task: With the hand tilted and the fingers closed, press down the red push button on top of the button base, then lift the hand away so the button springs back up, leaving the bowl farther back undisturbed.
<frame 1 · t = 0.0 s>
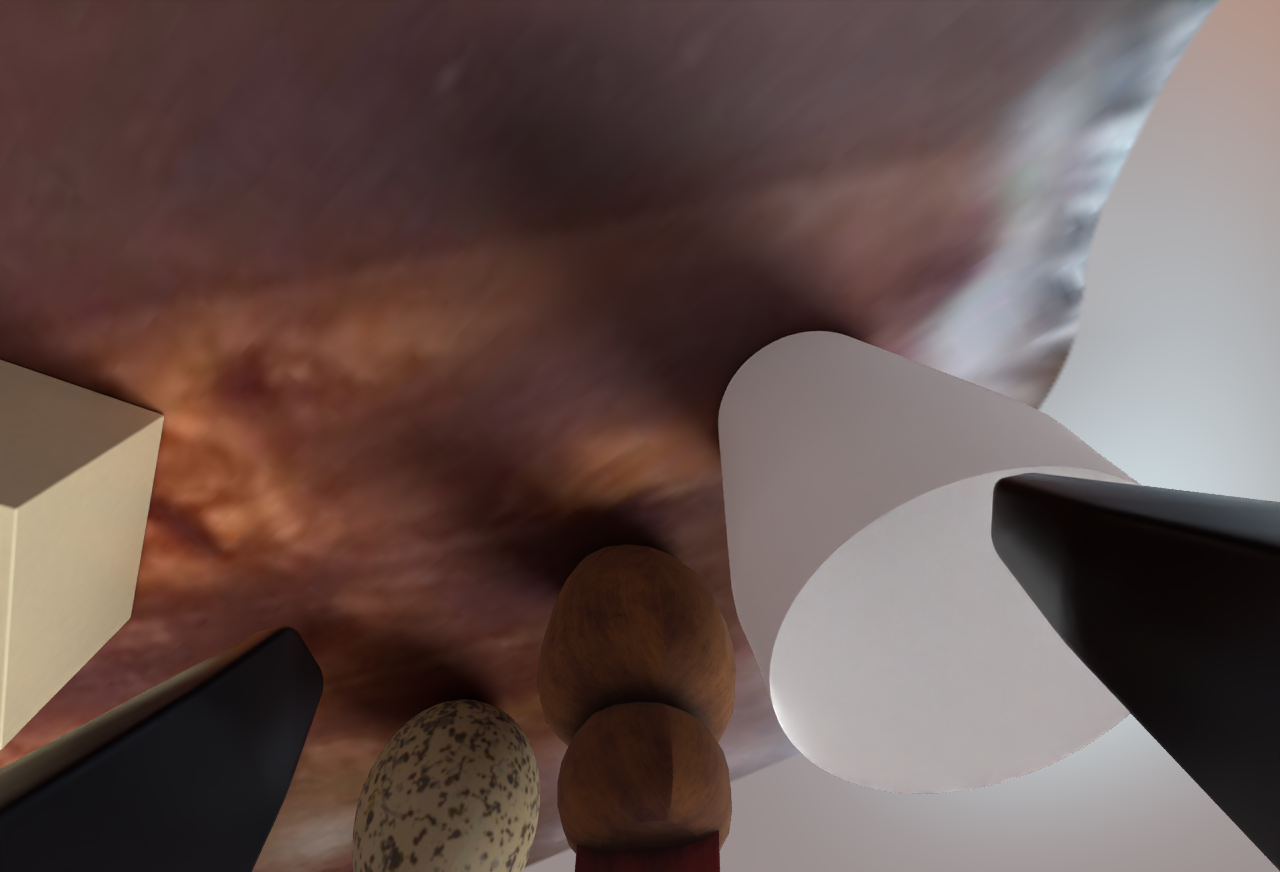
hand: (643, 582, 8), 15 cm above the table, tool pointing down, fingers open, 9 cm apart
decorative egg: (472, 713, 29), on the table
cup: (802, 413, 23), on the table
button base: (13, 483, 23), on the table
wooden figurine: (630, 577, 26), on the table
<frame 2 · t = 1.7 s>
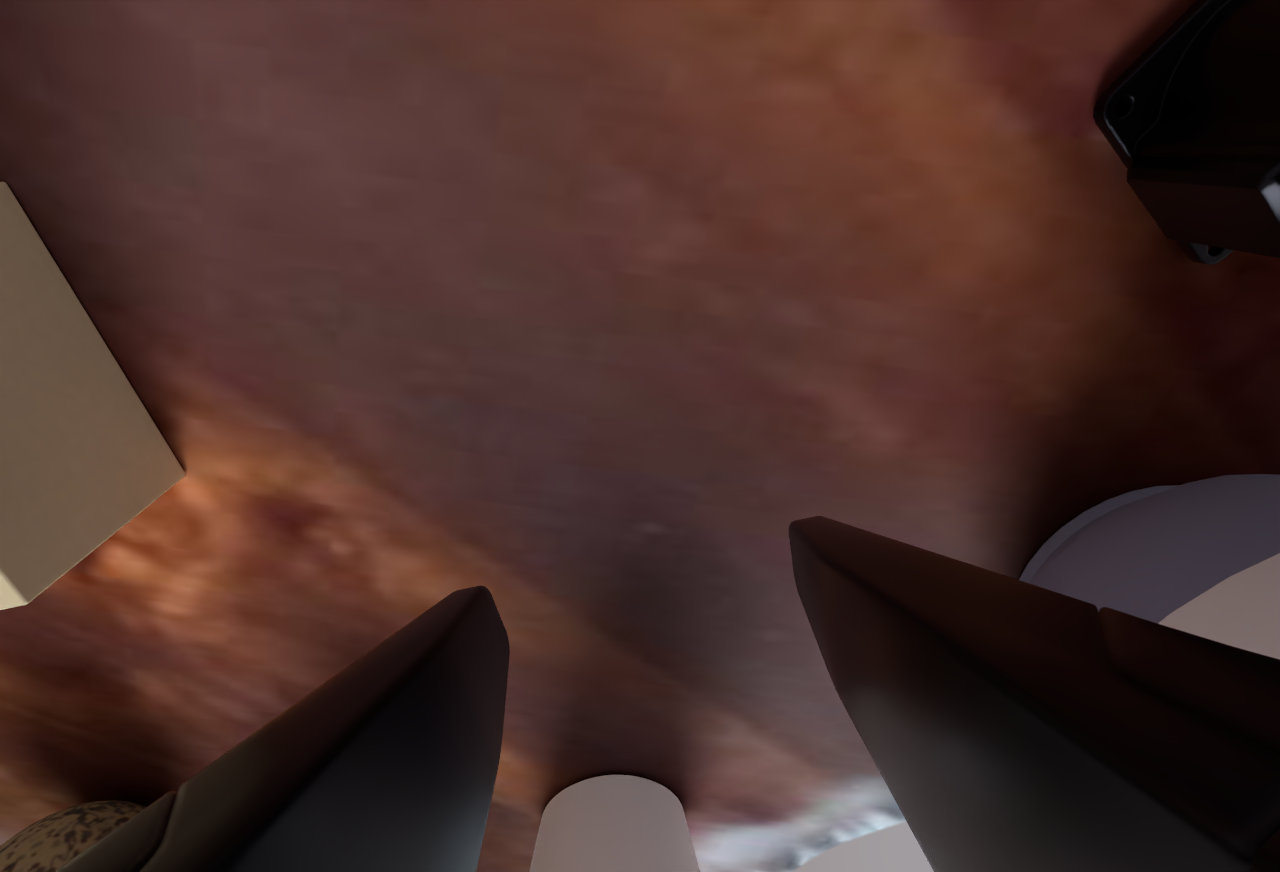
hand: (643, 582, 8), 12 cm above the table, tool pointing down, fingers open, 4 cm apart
decorative egg: (136, 810, 27), on the table
cup: (613, 814, 29), on the table
bowl: (1121, 580, 25), on the table
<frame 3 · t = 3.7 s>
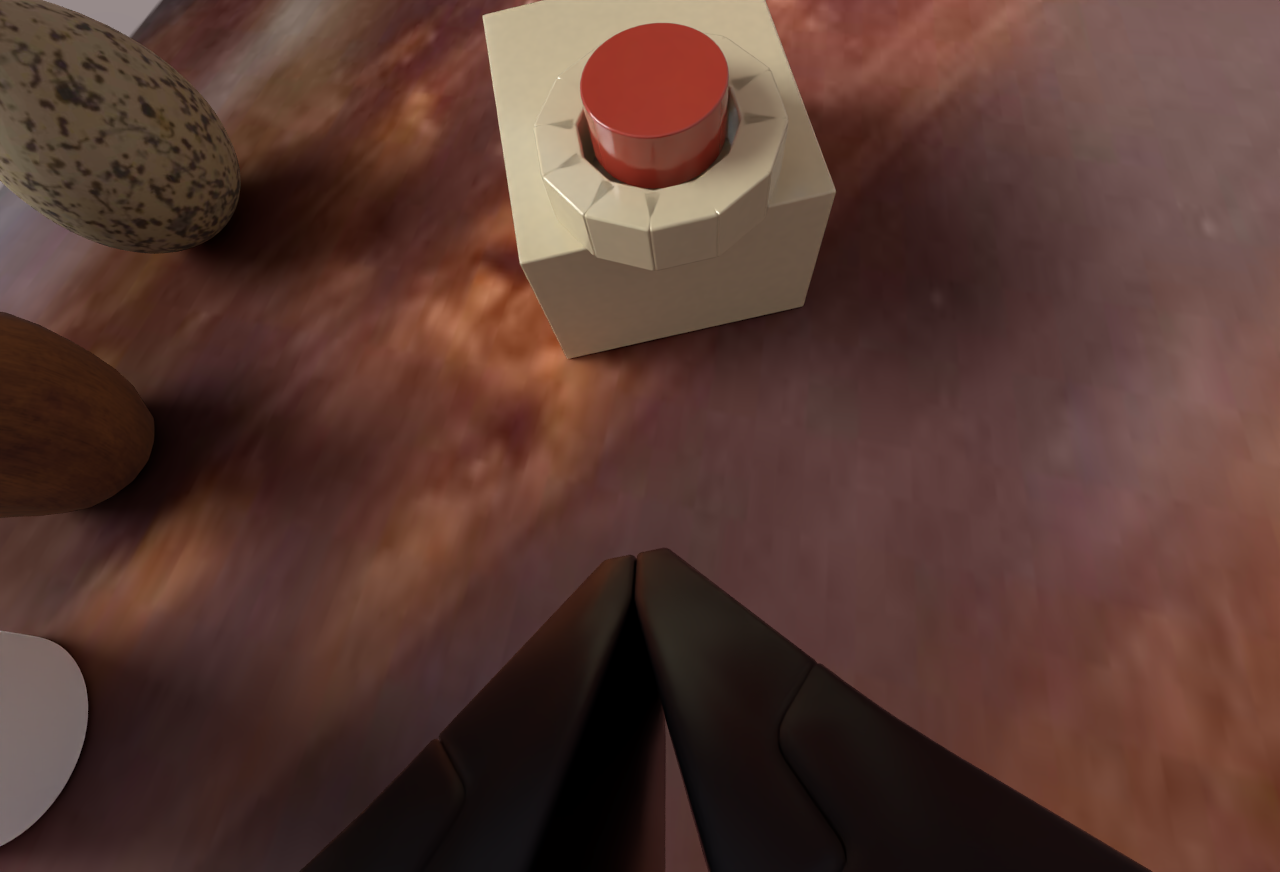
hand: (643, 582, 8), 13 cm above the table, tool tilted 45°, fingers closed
red push button: (656, 107, 16), point 8 cm above the table, slide at 0.1 cm
decorative egg: (208, 223, 27), on the table
cup: (6, 738, 21), on the table
button base: (657, 224, 25), on the table
wooden figurine: (110, 456, 24), on the table
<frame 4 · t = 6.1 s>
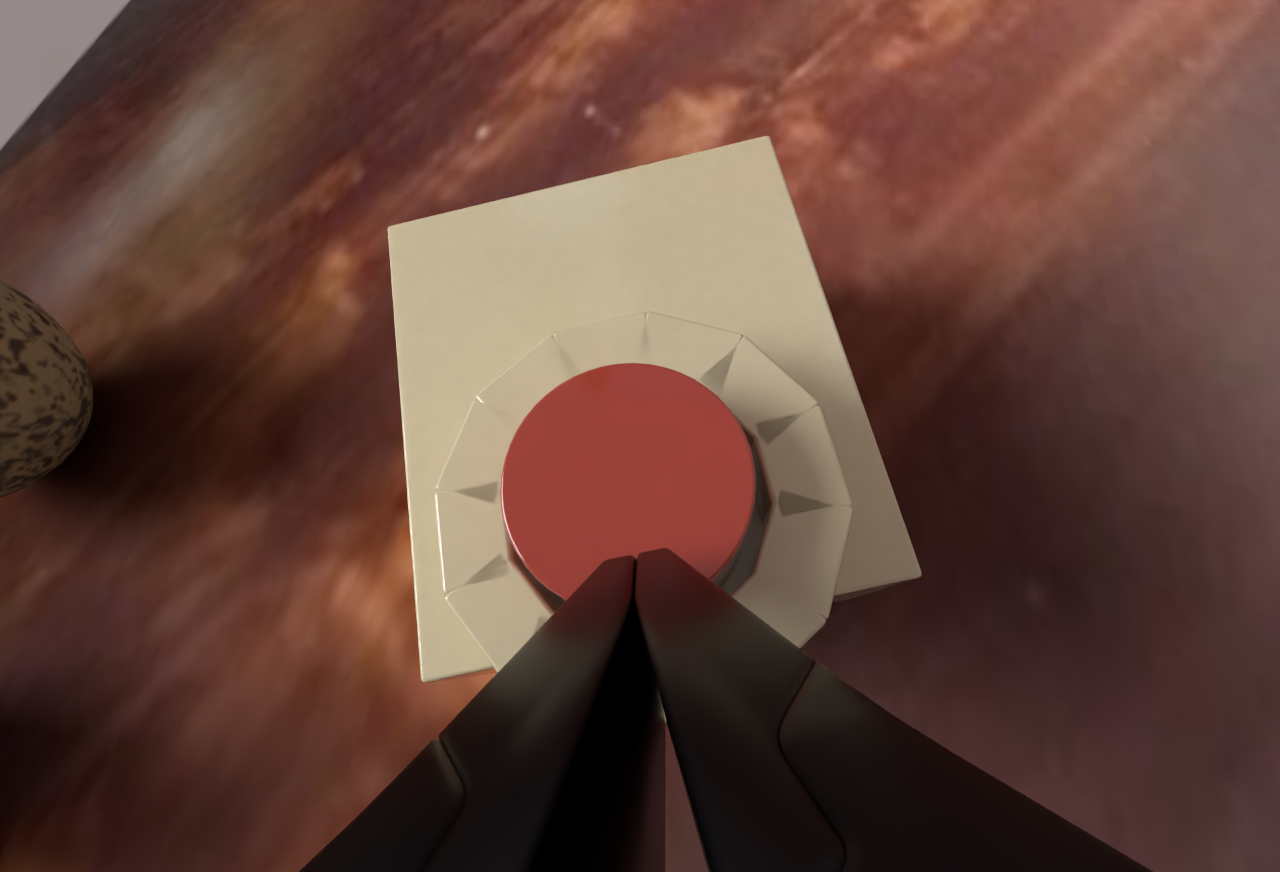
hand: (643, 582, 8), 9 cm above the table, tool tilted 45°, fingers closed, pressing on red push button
red push button: (632, 493, 9), point 8 cm above the table, slide at -0.1 cm, touching gripper
decorative egg: (61, 432, 21), on the table
button base: (645, 461, 18), on the table
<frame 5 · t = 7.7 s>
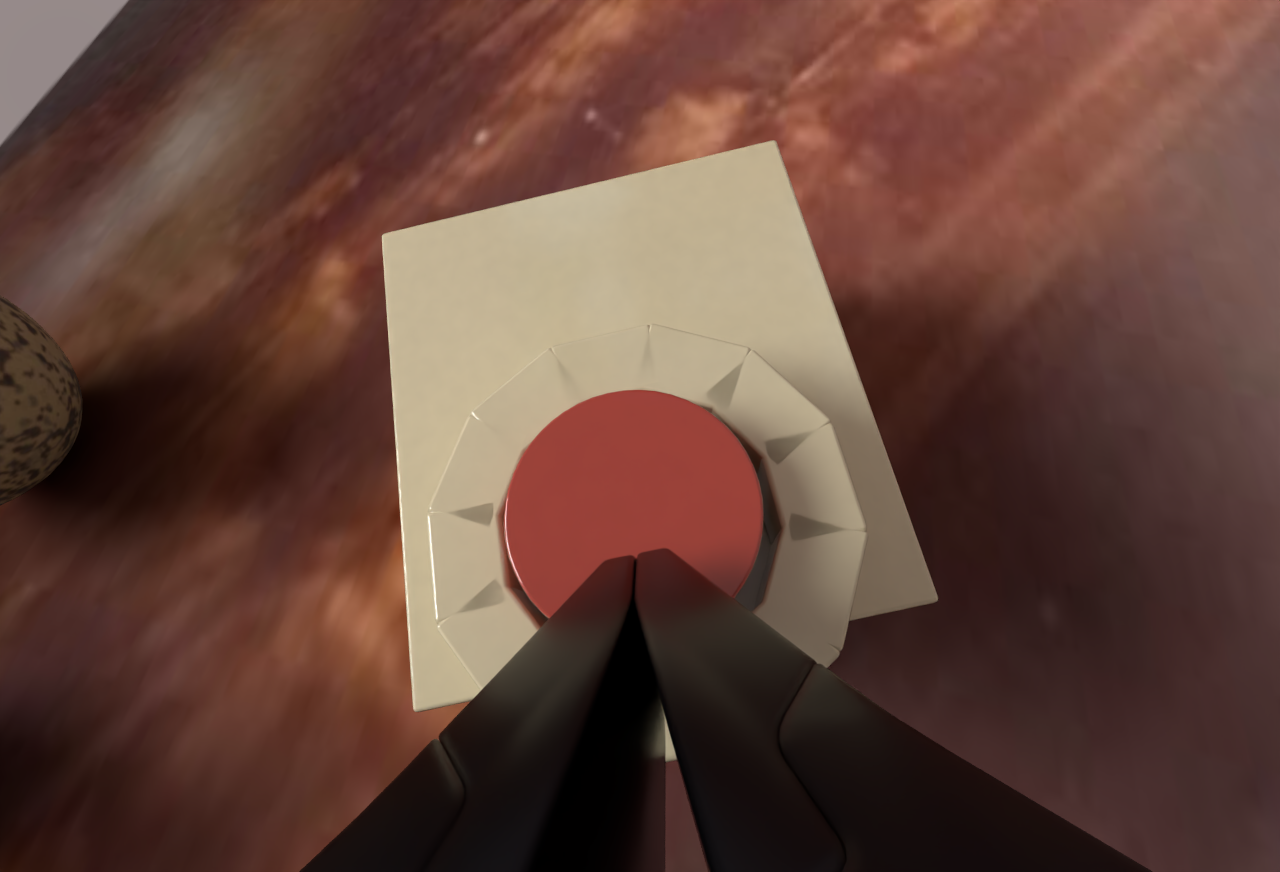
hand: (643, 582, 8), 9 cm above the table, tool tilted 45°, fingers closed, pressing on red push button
red push button: (637, 521, 9), point 8 cm above the table, slide at -0.4 cm, touching gripper
decorative egg: (50, 443, 20), on the table
button base: (647, 473, 18), on the table
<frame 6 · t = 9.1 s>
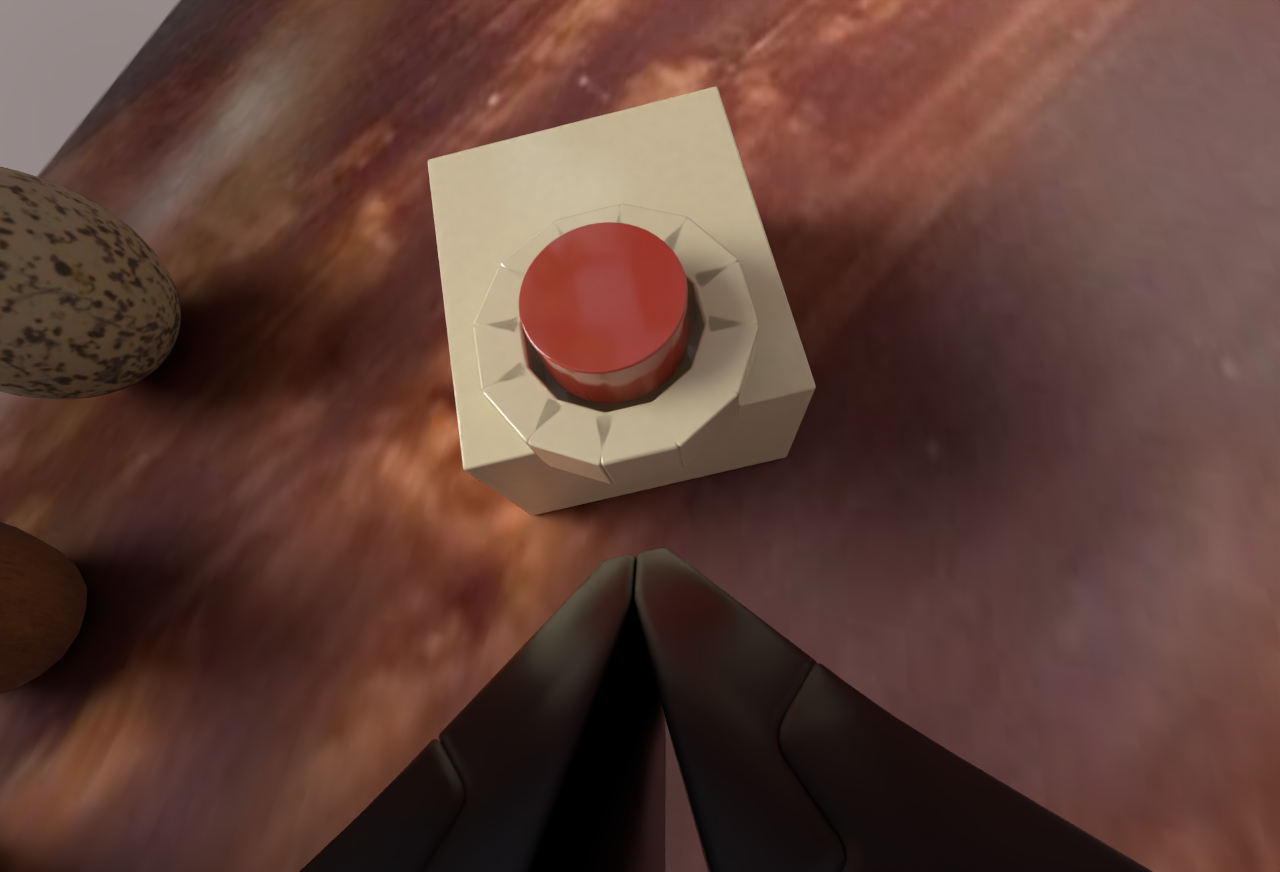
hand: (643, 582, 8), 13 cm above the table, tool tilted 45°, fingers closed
red push button: (608, 314, 14), point 8 cm above the table, slide at 0.1 cm
decorative egg: (150, 349, 25), on the table
button base: (629, 358, 23), on the table
wooden figurine: (41, 620, 22), on the table
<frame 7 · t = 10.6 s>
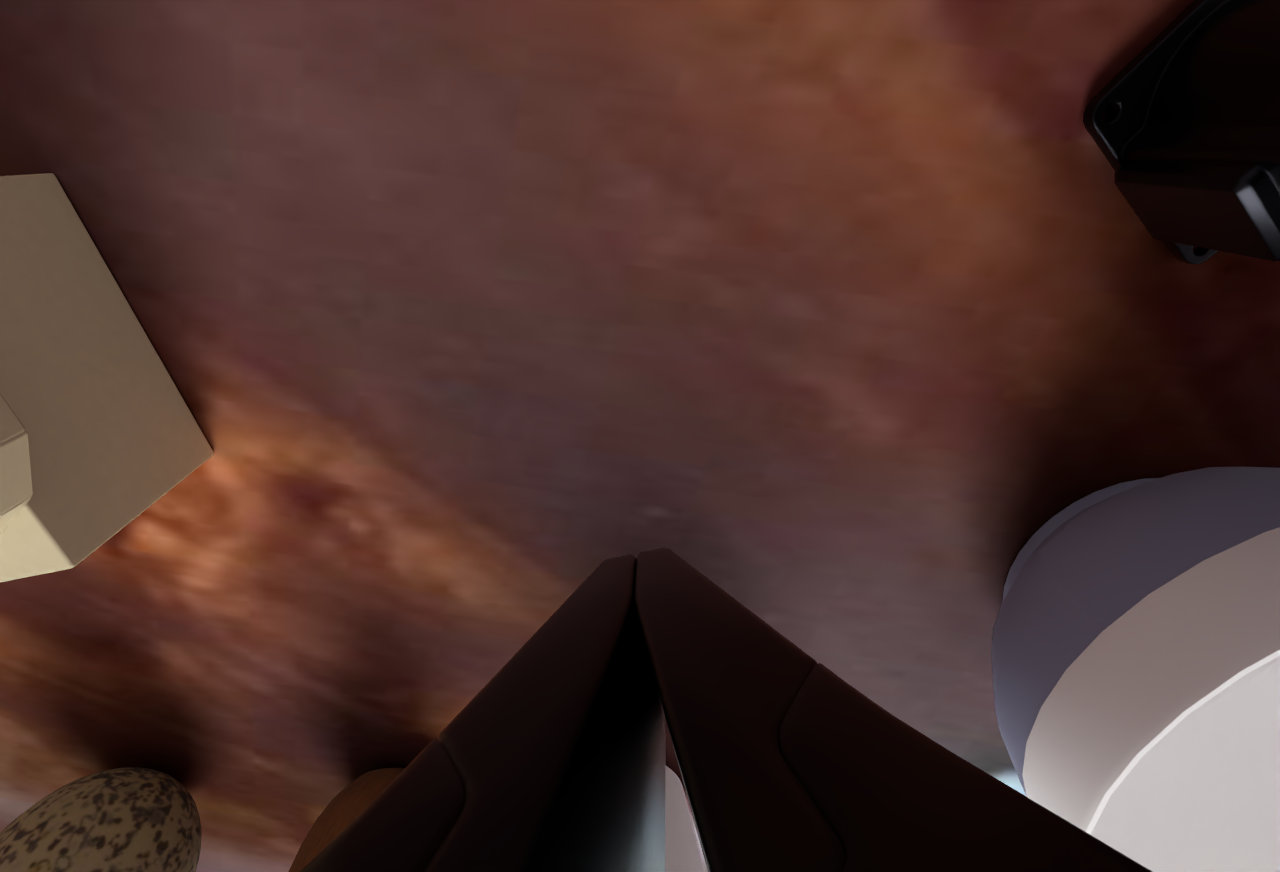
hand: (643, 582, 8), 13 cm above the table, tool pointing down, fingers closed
decorative egg: (158, 778, 28), on the table
cup: (614, 791, 30), on the table
bowl: (1110, 570, 25), on the table
wooden figurine: (403, 789, 29), on the table
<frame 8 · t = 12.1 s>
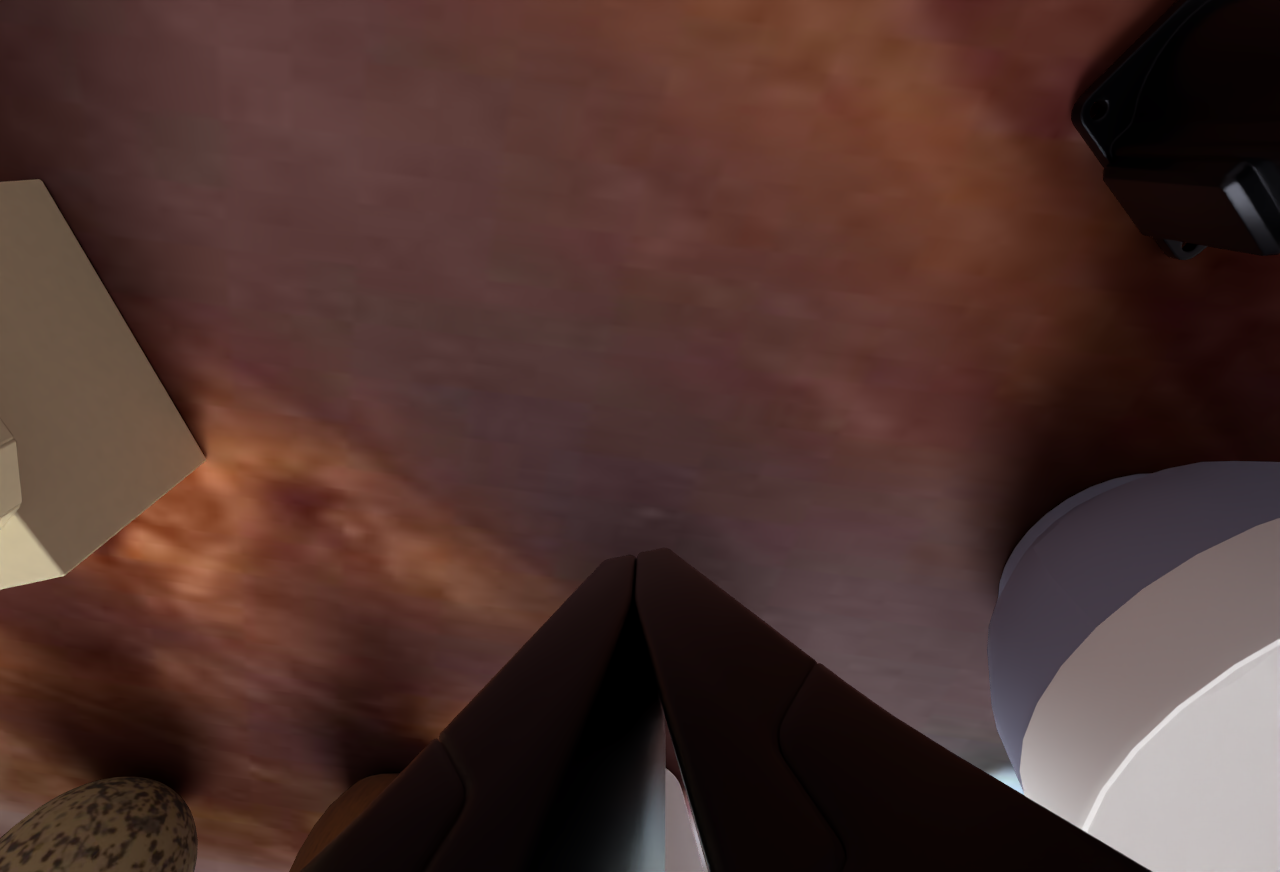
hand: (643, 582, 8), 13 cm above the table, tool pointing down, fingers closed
decorative egg: (153, 787, 28), on the table
cup: (613, 794, 30), on the table
bowl: (1104, 566, 25), on the table
wooden figurine: (400, 795, 29), on the table
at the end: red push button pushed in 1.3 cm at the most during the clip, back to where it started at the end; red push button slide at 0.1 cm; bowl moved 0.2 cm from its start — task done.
